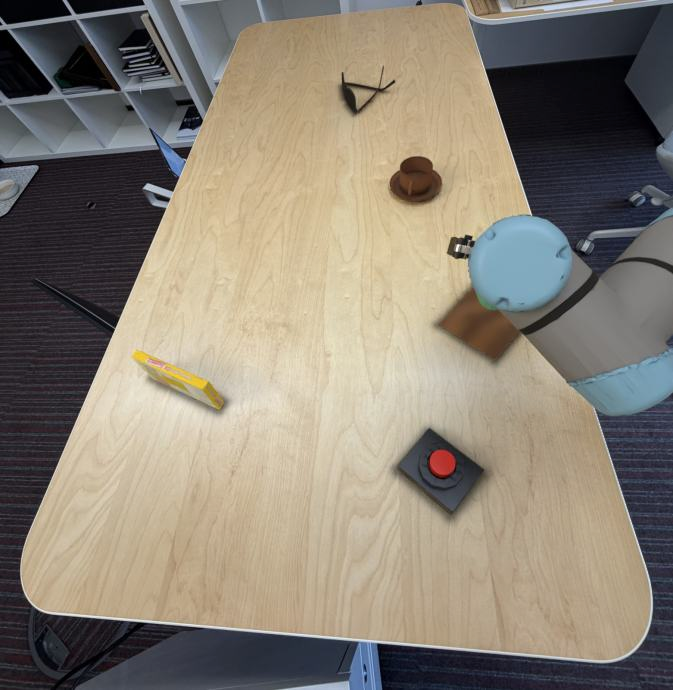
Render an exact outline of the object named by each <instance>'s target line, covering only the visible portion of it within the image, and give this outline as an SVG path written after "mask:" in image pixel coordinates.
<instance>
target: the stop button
mask: <svg viewBox="0 0 673 690" xmlns="http://www.w3.org/2000/svg"><path fill="white" fill-rule="evenodd" d="M455 465H456V463H455V459H454V457H453V455H452V454H451V453H450V452H448V451H446V450H437V451H435V452H434V453H433V454H432V455H431V457H430V461H429V467H430V470H431V472H432V473H433V474H434V475H436V476H438V477H448V476H449V475H451V474H452V472H453V470H454V468H455Z"/></svg>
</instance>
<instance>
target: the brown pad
mask: <svg viewBox="0 0 673 690" xmlns="http://www.w3.org/2000/svg"><path fill="white" fill-rule="evenodd" d="M438 326H439V327H440V328H442V329H444V330H446V331H447V332H448V333H450V334H452V335H454V336H455V337H456V338H458V339H460V340H461V341H463V342H465V343H466V344H468V345H470V346H471V347H473V348H474V349H476V350H477V351H478V352H480V353H483V355H485V356H487V357H488V358H490V359H492V360H494V361H496V360H498V358H499V357H500V356H501V355H502V353H503V352H504V351H505V350H506V348H507V347H508V346H509V345H510V344H511V343H512V342H513V340H514V339H515V337H517V335H518V334H519V333H520V331H519V330H518V329H516V328H515V327H514V326H513V325H512V324H511V323H510V322H509V320H508V319H507V318H506V317H505V316H504V315H503V314H502V313H501V312H500V311H499V310H489V309H487V308H485V307H484V306H482V305H481V304H480V302H479V300H478V297H477V294H476V291H475V290H474V288H473V287H471V288H470V289H469V291H467V293H466V294H464V296H463V297H462V299H460V300H459V302H458V303H456V305H455V306H454V307H453V308H452V309H451V310H450V311H449V312H448V313H447V314H446V315H445V317H444V318H443V319H442V320H441V321H440V322H439V323H438Z"/></svg>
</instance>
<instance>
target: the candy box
mask: <svg viewBox="0 0 673 690" xmlns="http://www.w3.org/2000/svg"><path fill="white" fill-rule="evenodd" d="M130 358H131V359H132V360H133V361H134V362H135V363H136V364H137V365H139V367H140V368H142V370H143V371H144V372H146V374H148V376H149V377H150V378H151V379H152V380H154V381H157V382H159V383H161V384H163V385H165V386H167V387H169V388H171V389H174V390H175V391H177V392H180V393H182V394H183V395H186V396H188V397H190V398H193V399H195V400H197V401H199V402H201V403H203V404H205V405H208V406H209V407H212V408H214V409H216V410H219V411H220V410H221V409H222V407H223V406H224V405H225V400H224V399H223V397H221V395H220V394H219V392H218V391H217V389H216V388H215V387H214V386H213V384H212V383H211V382H210V381H209V380H207V379H204V378H202V377H200V376H198V375H195V374H194V373H190V372H188V371H187V370H184V369H182V368H179V367H178V366H175V365H173V364H170V363H168V362H166V361H164V360H161V359H159V358H157V357H155V356H152V355H150V354H148V353H146V352H143V351H141V350H139V349H136V350H135V351H134V352H133V353H132V354H131V355H130Z"/></svg>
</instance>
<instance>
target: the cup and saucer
mask: <svg viewBox="0 0 673 690" xmlns="http://www.w3.org/2000/svg"><path fill="white" fill-rule="evenodd" d="M442 183H443V180H442V177H441V175H440V174H439V173H438V171H436V170H434V164H433V161H431V160H430V159H429V158H428V157H425V156H421V155H414V156H409V157H406V158H405V159H403V160H402V161H401V163H400V165H399V170H397V171H396V172H395V173H393V174H392V176H391V177H390V179H389V188H390V191H391V193H393V195H394V196H395V197H397V198H398V199H401V200H403V201H406V202H413V203H414V202H415V203H416V202H422V201H426V200H429V199H431V198H432V197H434V196H436V195H437V194H438V193H439V192H440V190H441V187H442Z"/></svg>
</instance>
